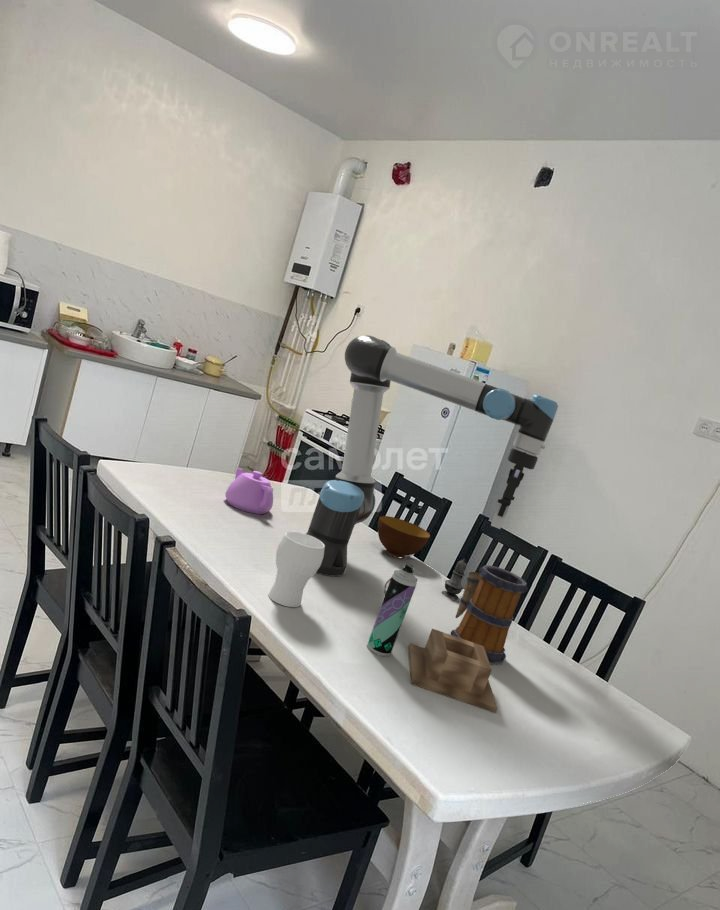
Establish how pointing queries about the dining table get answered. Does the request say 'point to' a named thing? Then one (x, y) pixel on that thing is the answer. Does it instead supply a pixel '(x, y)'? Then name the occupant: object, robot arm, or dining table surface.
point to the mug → (489, 609)
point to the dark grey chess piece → (455, 581)
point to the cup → (295, 566)
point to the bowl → (401, 536)
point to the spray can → (392, 611)
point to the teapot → (250, 492)
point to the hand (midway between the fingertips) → (496, 523)
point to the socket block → (453, 669)
